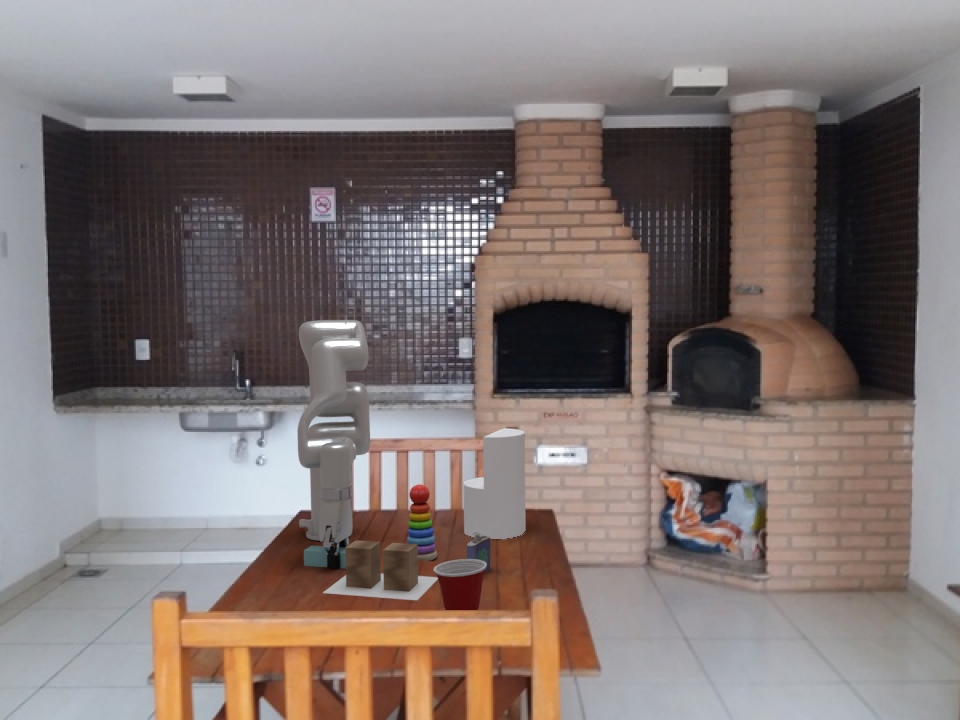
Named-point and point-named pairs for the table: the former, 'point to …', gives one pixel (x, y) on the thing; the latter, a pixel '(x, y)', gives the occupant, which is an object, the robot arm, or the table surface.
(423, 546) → the stacking toy
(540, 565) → the table surface
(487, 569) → the flask
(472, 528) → the cylinder
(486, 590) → the table surface
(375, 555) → the pillar left
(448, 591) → the plastic cup
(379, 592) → the board
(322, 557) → the beam
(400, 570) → the pillar right
